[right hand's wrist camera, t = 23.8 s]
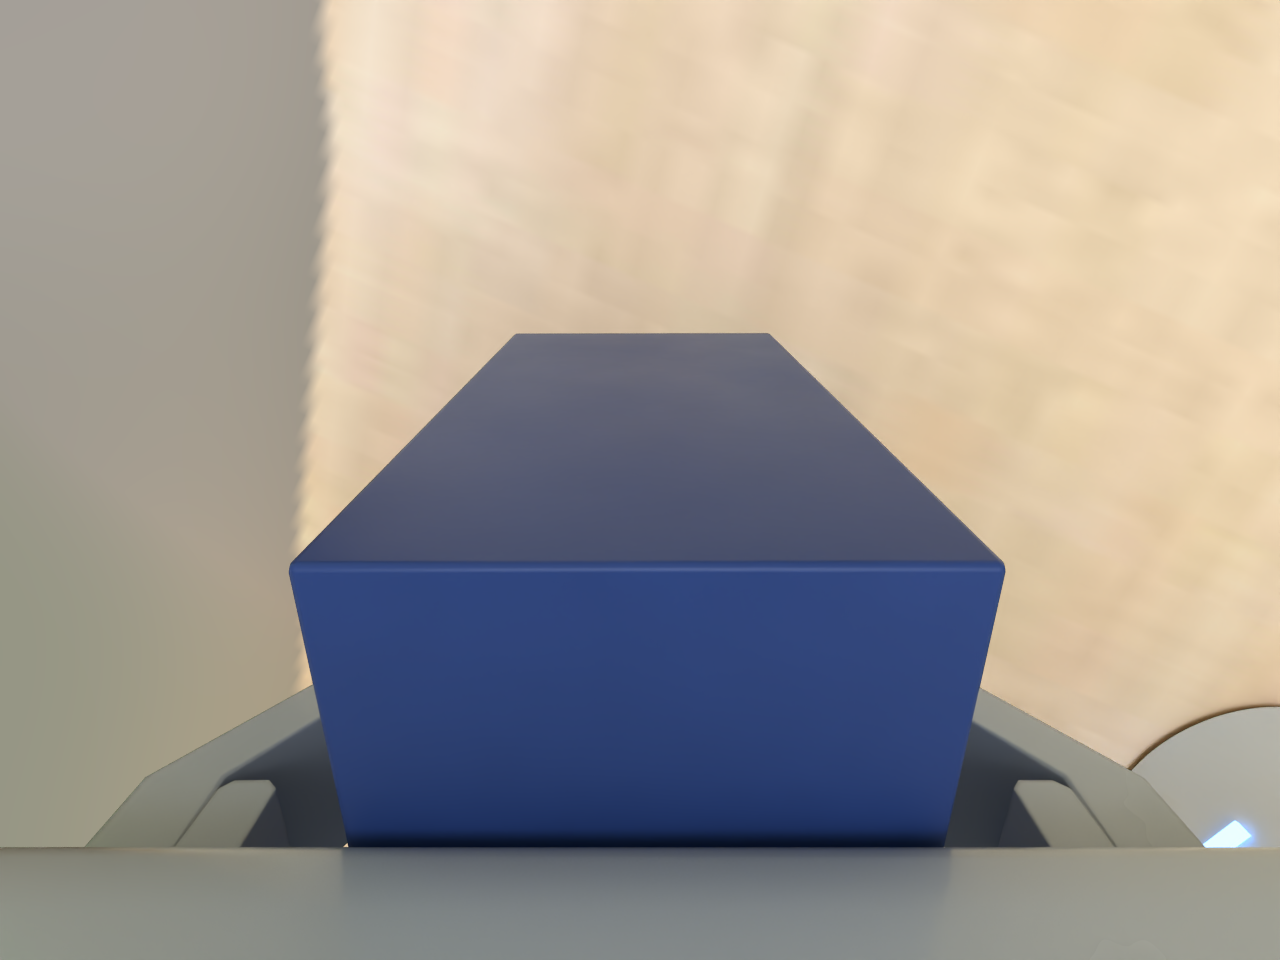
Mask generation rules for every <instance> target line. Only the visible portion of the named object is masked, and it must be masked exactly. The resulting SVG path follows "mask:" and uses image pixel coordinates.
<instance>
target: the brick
mask: <svg viewBox="0 0 1280 960" xmlns="http://www.w3.org/2000/svg"><path fill="white" fill-rule="evenodd" d="M289 576H290V580H291V585H292V589H293V594H294V599H295V603H296V608H297V612H298V617H299V622H300V626H301V631H302V635H303V640H304V645H305V649H306V654H307V658H308V663H309V668H310V672H311V677H312V681H313V686H314V691H315V695H316V700H317V704H318V709H319V714H320V718H321V723H322V727H323V732H324V737H325V741H326V746H327V750H328V755H329V760H330V764H331V769H332V773H333V778H334V783H335V787H336V792H337V796H338V801H339V806H340V810H341V815H342V819H343V824H344V829H345V833H346V838H347V842H348V847H944V845H945V840H946V836H947V831H948V827H949V822H950V818H951V813H952V809H953V804H954V800H955V795H956V791H957V786H958V782H959V777H960V773H961V768H962V764H963V759H964V755H965V750H966V746H967V741H968V737H969V733H970V728H971V724H972V719H973V715H974V710H975V706H976V701H977V697H978V692H979V688H980V683H981V679H982V674H983V670H984V665H985V661H986V656H987V652H988V647H989V643H990V638H991V634H992V629H993V625H994V621H995V616H996V612H997V607H998V603H999V598H1000V594H1001V589H1002V585H1003V580H1004V576H1005V566H1004V563H1003V562H1002V561H1001V560H1000V559H999V558H998V557H997V556H996V555H995V554H994V553H993V552H992V551H991V550H990V549H989V548H988V547H987V546H986V545H985V544H984V543H983V542H982V541H981V540H980V539H979V538H978V537H977V536H976V535H975V534H974V533H973V532H972V531H971V530H970V529H969V528H968V527H967V526H966V525H965V524H964V523H963V522H962V521H961V520H959V519H958V518H957V517H956V516H955V515H954V514H953V513H952V512H951V511H950V510H949V509H948V508H947V507H946V506H945V505H944V504H943V503H942V502H941V501H940V500H939V499H938V498H937V497H936V496H935V495H934V494H933V493H932V492H931V491H930V490H929V489H928V488H927V487H926V486H925V485H924V484H923V483H922V482H921V481H920V480H919V479H918V478H916V477H915V476H914V475H913V474H912V473H911V472H910V471H909V470H908V469H907V468H906V467H905V466H904V465H903V464H902V463H901V462H900V461H899V460H898V459H897V458H896V457H895V456H894V455H893V454H892V453H891V452H890V451H889V450H888V449H887V448H886V447H885V446H884V445H883V444H882V443H881V442H880V441H879V440H878V439H877V438H876V437H875V436H873V435H872V434H871V433H870V432H869V431H868V430H867V429H866V428H865V427H864V426H863V425H862V424H861V423H860V422H859V421H858V420H857V419H856V418H855V417H854V416H853V415H852V414H851V413H850V412H849V411H848V410H847V409H846V408H845V407H844V406H843V405H842V404H841V403H840V402H839V401H838V400H837V399H836V398H835V397H834V396H833V395H832V394H830V393H829V392H828V391H827V390H826V389H825V388H824V387H823V386H822V385H821V384H820V383H819V382H818V381H817V380H816V379H815V378H814V377H813V376H812V375H811V374H810V373H809V372H808V371H807V370H806V369H805V368H804V367H803V366H802V365H801V364H800V363H799V362H798V361H797V360H796V359H795V358H794V357H793V356H792V355H791V354H790V353H788V352H787V351H786V350H785V349H784V348H783V347H782V346H781V345H780V344H779V343H778V342H777V341H776V340H775V339H774V338H773V337H772V336H771V335H770V334H768V333H667V334H515V335H514V336H513V337H512V338H511V339H510V340H509V341H508V342H507V343H506V344H505V345H504V346H503V347H502V348H501V349H500V350H499V351H498V352H497V353H496V354H495V355H494V356H493V357H492V359H491V360H490V361H489V362H488V363H487V364H486V365H485V366H484V367H483V368H482V369H481V370H480V371H479V372H478V373H477V374H476V375H475V376H474V377H473V378H472V379H471V380H470V381H469V382H468V383H467V384H466V385H465V386H464V387H463V388H462V389H461V390H460V391H459V392H458V393H457V394H456V395H455V396H454V397H453V398H452V399H451V400H450V401H449V402H448V403H447V404H446V405H445V406H444V407H443V408H442V410H441V411H440V412H439V413H438V414H437V415H436V416H435V417H434V418H433V419H432V420H431V421H430V422H429V423H428V424H427V425H426V426H425V427H424V428H423V429H422V430H421V431H420V432H419V433H418V434H417V435H416V436H415V437H414V438H413V439H412V440H411V441H410V442H409V443H408V444H407V445H406V446H405V447H404V448H403V449H402V450H401V451H400V452H399V453H398V454H397V455H396V456H395V457H394V458H393V459H392V461H391V462H390V463H389V464H388V465H387V466H386V467H385V468H384V469H383V470H382V471H381V472H380V473H379V474H378V475H377V476H376V477H375V478H374V479H373V480H372V481H371V482H370V483H369V484H368V485H367V486H366V487H365V488H364V489H363V490H362V491H361V492H360V493H359V494H358V495H357V496H356V497H355V498H354V499H353V500H352V501H351V502H350V503H349V504H348V505H347V506H346V507H345V508H344V509H343V510H342V512H341V513H340V514H339V515H338V516H337V517H336V518H335V519H334V520H333V521H332V522H331V523H330V524H329V525H328V526H327V527H326V528H325V529H324V530H323V531H322V532H321V533H320V534H319V535H318V536H317V537H316V538H315V539H314V540H313V541H312V542H311V543H310V544H309V545H308V546H307V547H306V548H305V549H304V550H303V551H302V552H301V553H300V554H299V555H298V556H297V557H296V558H295V559H294V560H293V561H292V563H291V564H290V568H289Z"/></svg>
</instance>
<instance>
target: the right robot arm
mask: <svg viewBox="0 0 1280 960" xmlns="http://www.w3.org/2000/svg"><path fill="white" fill-rule="evenodd" d="M347 843H348V842H347V838H346V833H345V829H344V824H343V819H342V815H341V810H340V806H339V801H338V796H337V792H336V787H335V783H334V778H333V773H332V769H331V764H330V760H329V755H328V750H327V746H326V741H325V737H324V732H323V727H322V723H321V718H320V714H319V709H318V704H317V700H316V695H315V691H314V686H313V685H311V686H309V687H307V688H306V689H304V690H302V691H300V692H298V693H296V694H295V695H293V696H291V697H289V698H287V699H286V700H284V701H282V702H280V703H278V704H277V705H275V706H273V707H271V708H269V709H268V710H266V711H264V712H262V713H260V714H259V715H257V716H255V717H253V718H251V719H250V720H248V721H246V722H244V723H242V724H241V725H239V726H237V727H235V728H233V729H232V730H230V731H228V732H226V733H224V734H223V735H221V736H219V737H217V738H215V739H214V740H212V741H210V742H208V743H206V744H204V745H203V746H201V747H199V748H197V749H195V750H194V751H192V752H190V753H188V754H186V755H185V756H183V757H181V758H179V759H177V760H176V761H174V762H172V763H170V764H168V765H167V766H165V767H163V768H161V769H159V770H158V771H156V772H154V773H152V774H150V775H149V776H147V777H145V778H144V779H143V781H142V782H141V783H140V784H139V785H138V786H137V787H136V789H135V790H134V791H133V792H132V793H131V794H130V796H129V797H128V798H127V799H126V800H125V801H124V802H123V804H122V805H121V806H120V807H119V808H118V809H117V810H116V812H115V813H114V814H113V815H112V816H111V817H110V818H109V820H108V821H107V822H106V823H105V824H104V825H103V826H102V828H101V829H100V830H99V831H98V832H97V833H96V834H95V836H94V837H93V838H92V839H91V840H90V841H89V842H88V844H87V845H86V846H85V847H0V960H1280V707H1260V708H1251V709H1245V710H1239V711H1235V712H1231V713H1227V714H1223V715H1220V716H1217V717H1214V718H1211V719H1208V720H1205V721H1203V722H1200V723H1198V724H1196V725H1194V726H1191V727H1189V728H1187V729H1185V730H1183V731H1181V732H1180V733H1178V734H1176V735H1174V736H1173V737H1171V738H1169V739H1168V740H1166V741H1165V742H1163V743H1162V744H1161V745H1159V746H1158V747H1156V748H1155V749H1154V750H1153V751H1151V752H1150V753H1149V754H1148V755H1147V756H1145V757H1144V758H1143V759H1142V760H1141V761H1140V762H1139V763H1138V764H1137V765H1136V766H1135V767H1134V768H1133V769H1132V771H1131V770H1129V769H1127V768H1125V767H1123V766H1121V765H1120V764H1118V763H1116V762H1114V761H1112V760H1111V759H1109V758H1107V757H1105V756H1103V755H1102V754H1100V753H1098V752H1096V751H1094V750H1092V749H1091V748H1089V747H1087V746H1085V745H1083V744H1082V743H1080V742H1078V741H1076V740H1074V739H1072V738H1071V737H1069V736H1067V735H1065V734H1063V733H1062V732H1060V731H1058V730H1056V729H1054V728H1052V727H1051V726H1049V725H1047V724H1045V723H1043V722H1042V721H1040V720H1038V719H1036V718H1034V717H1033V716H1031V715H1029V714H1027V713H1025V712H1023V711H1022V710H1020V709H1018V708H1016V707H1014V706H1013V705H1011V704H1009V703H1007V702H1005V701H1003V700H1002V699H1000V698H998V697H996V696H994V695H993V694H991V693H989V692H987V691H985V690H984V689H982V688H979V692H978V697H977V701H976V706H975V710H974V715H973V719H972V724H971V728H970V733H969V737H968V741H967V746H966V750H965V755H964V759H963V764H962V768H961V773H960V777H959V782H958V786H957V791H956V795H955V800H954V804H953V809H952V813H951V818H950V822H949V827H948V831H947V836H946V840H945V845H944V847H343V846H344V845H346V844H347Z"/></svg>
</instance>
